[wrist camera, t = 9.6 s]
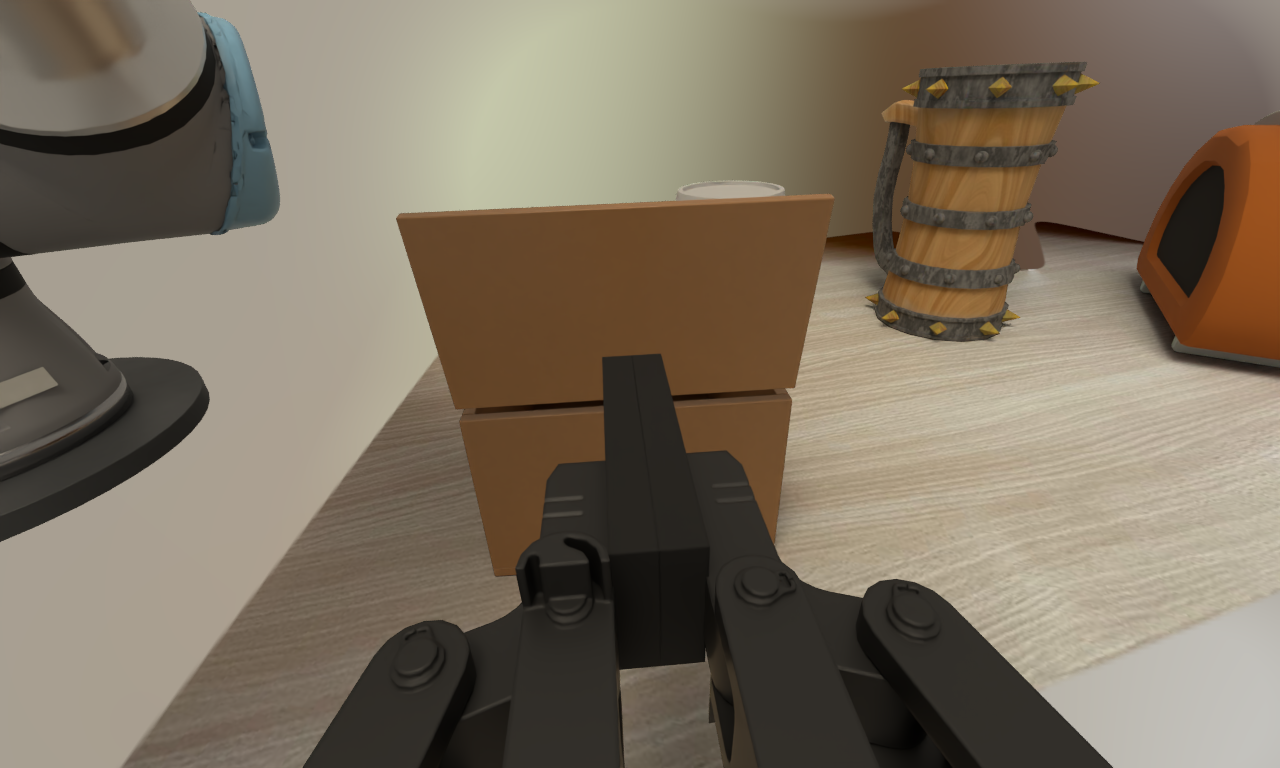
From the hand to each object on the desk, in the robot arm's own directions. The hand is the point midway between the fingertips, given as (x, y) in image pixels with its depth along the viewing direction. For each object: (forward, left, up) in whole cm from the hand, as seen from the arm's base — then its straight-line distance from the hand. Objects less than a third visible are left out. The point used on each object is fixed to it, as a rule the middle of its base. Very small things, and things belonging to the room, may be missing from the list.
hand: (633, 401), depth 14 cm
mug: (+29, +34, -12) cm, 46 cm away
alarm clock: (+51, +27, -12) cm, 59 cm away
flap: (0, +5, +1) cm, 5 cm away
